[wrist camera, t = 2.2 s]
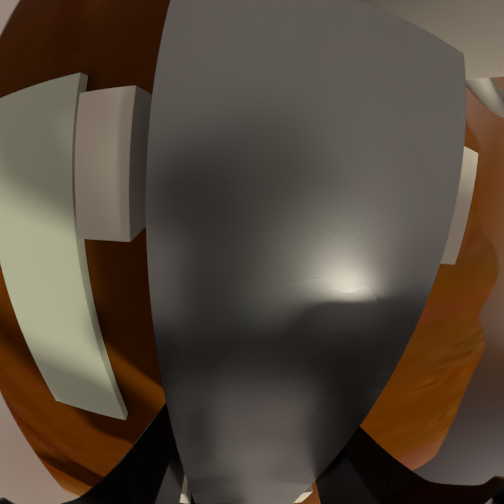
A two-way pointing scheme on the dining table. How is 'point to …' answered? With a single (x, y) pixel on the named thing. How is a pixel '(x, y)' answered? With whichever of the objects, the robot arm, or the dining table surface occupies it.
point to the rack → (134, 177)
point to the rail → (291, 226)
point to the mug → (463, 38)
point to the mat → (51, 245)
